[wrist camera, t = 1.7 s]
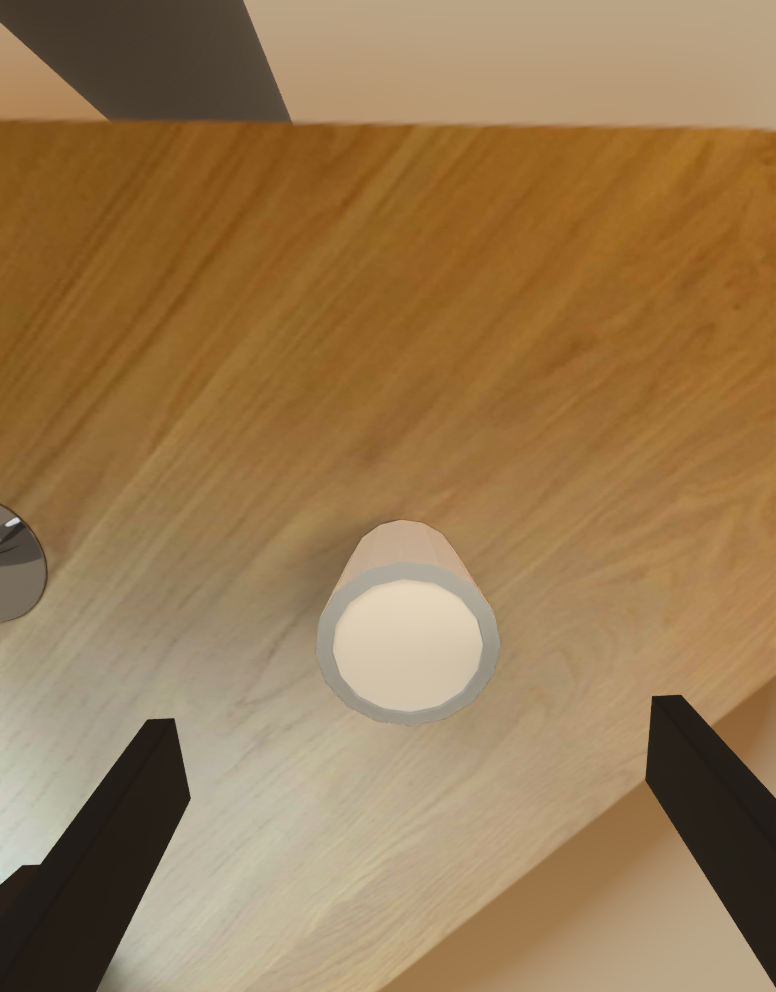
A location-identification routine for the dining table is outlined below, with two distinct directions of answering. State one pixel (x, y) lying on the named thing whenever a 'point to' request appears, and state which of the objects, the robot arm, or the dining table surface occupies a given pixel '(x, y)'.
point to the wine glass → (19, 566)
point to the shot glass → (407, 629)
